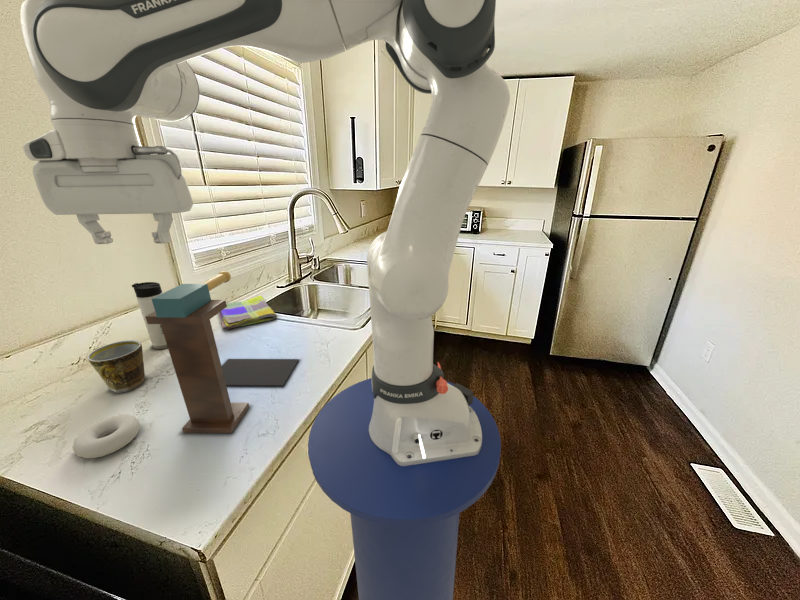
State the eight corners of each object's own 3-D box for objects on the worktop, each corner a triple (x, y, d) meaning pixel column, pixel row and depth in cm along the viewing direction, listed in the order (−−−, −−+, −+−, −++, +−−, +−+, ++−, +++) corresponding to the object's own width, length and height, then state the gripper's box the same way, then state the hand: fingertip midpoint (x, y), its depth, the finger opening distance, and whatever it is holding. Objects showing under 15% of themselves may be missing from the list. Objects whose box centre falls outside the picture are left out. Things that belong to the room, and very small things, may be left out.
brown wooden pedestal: (249, 406, 73) (225, 299, 64) (231, 433, 66) (201, 316, 56) (206, 406, 74) (175, 299, 64) (183, 432, 66) (145, 316, 57)
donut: (136, 450, 62) (146, 417, 70) (130, 436, 61) (141, 404, 69) (67, 471, 58) (86, 433, 66) (59, 457, 57) (80, 420, 65)
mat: (298, 360, 91) (298, 359, 91) (283, 386, 80) (283, 385, 80) (228, 360, 92) (228, 358, 92) (203, 386, 81) (203, 384, 81)
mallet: (239, 282, 74) (236, 267, 73) (185, 317, 56) (179, 298, 55) (218, 282, 74) (214, 267, 73) (156, 317, 56) (151, 298, 55)
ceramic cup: (113, 378, 84) (99, 344, 81) (158, 370, 88) (147, 337, 84) (88, 409, 73) (71, 372, 69) (140, 399, 76) (127, 362, 73)
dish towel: (264, 299, 136) (263, 293, 135) (278, 320, 117) (277, 313, 116) (217, 308, 127) (216, 302, 126) (224, 332, 108) (222, 325, 107)
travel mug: (157, 340, 103) (138, 280, 96) (180, 338, 104) (163, 279, 97) (147, 350, 98) (126, 287, 90) (172, 348, 99) (153, 285, 91)
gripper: (189, 147, 49) (210, 238, 54) (56, 149, 49) (89, 240, 54) (159, 143, 43) (186, 246, 48) (9, 146, 43) (51, 248, 49)
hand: (134, 243), depth 51 cm, fingers open, 8 cm apart
